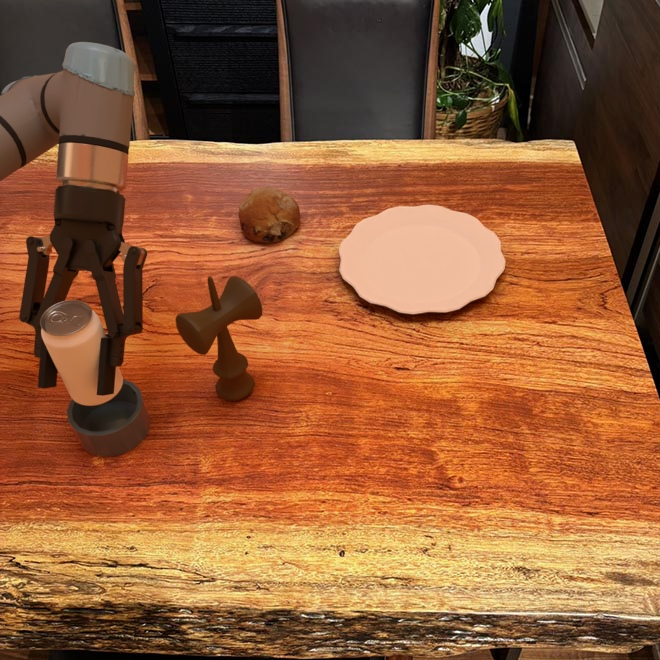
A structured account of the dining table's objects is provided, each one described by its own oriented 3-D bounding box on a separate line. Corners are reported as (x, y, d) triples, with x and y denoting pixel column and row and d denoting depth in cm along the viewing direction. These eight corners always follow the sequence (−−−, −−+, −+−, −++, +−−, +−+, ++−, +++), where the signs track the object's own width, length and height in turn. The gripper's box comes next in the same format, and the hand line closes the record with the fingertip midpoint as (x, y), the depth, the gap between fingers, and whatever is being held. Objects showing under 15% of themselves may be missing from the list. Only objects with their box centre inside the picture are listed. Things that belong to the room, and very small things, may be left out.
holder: (63, 442, 102) (51, 420, 99) (107, 391, 108) (98, 369, 104) (122, 466, 99) (112, 445, 96) (164, 413, 105) (156, 391, 102)
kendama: (277, 379, 108) (258, 266, 93) (223, 421, 104) (193, 310, 89) (248, 358, 111) (224, 245, 96) (193, 398, 106) (160, 286, 91)
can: (84, 364, 100) (52, 293, 91) (132, 371, 99) (105, 300, 90) (60, 403, 96) (25, 334, 87) (110, 411, 95) (80, 341, 86)
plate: (438, 195, 134) (438, 186, 133) (537, 278, 120) (539, 268, 119) (309, 251, 126) (308, 241, 124) (399, 347, 112) (399, 337, 110)
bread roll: (306, 233, 134) (307, 185, 131) (290, 248, 125) (291, 197, 122) (249, 228, 136) (249, 180, 132) (229, 242, 126) (228, 191, 123)
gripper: (185, 201, 93) (168, 397, 95) (30, 187, 96) (17, 379, 98) (159, 190, 86) (141, 403, 88) (-9, 176, 88) (-22, 383, 90)
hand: (76, 390), depth 93 cm, fingers closed on can, 6 cm apart
